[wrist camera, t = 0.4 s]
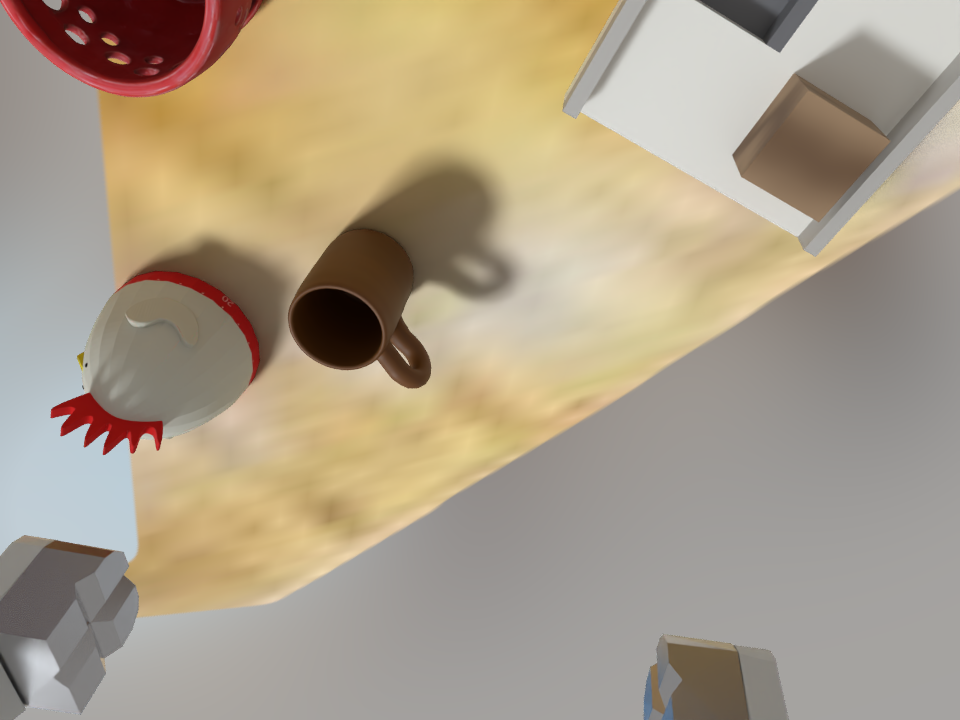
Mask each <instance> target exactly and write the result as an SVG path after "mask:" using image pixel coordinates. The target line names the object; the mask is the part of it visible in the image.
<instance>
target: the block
mask: <svg viewBox="0 0 960 720" xmlns="http://www.w3.org/2000/svg"><path fill="white" fill-rule="evenodd" d="M890 142H891V141H890V140H889V139H888V138H887V137H886V136H885V135H884V134H883V133H882V131H881V130H880V129H879V128H878V127H877V126H876V125H875V124H874V123H873V122H872V121H871V120H869V119H868V118H866V117H864V116H863V115H861V114H860V113H858V112H856V111H855V110H853V109H852V108H850V107H848V106H847V105H845V104H843V103H842V102H840V101H839V100H837V99H835V98H834V97H832V96H831V95H829V94H827V93H826V92H824V91H822V90H821V89H819V88H818V87H816V86H814V85H813V84H811V83H810V82H808V81H806V80H805V79H803V78H802V77H800V76H798V75H797V74H795V73H794V74H793V75H792V76H791V78H790V79H789V80H788V82H787V83H786V84H785V85H784V87H783V88H782V89H781V91H780V92H779V93H778V95H777V96H776V97H775V99H774V100H773V101H772V103H771V104H770V105H769V107H768V108H767V109H766V111H765V112H764V113H763V115H762V116H761V117H760V119H759V120H758V121H757V123H756V124H755V125H754V127H753V128H752V129H751V130H750V132H749V133H748V134H747V136H746V137H745V138H744V140H743V141H742V142H741V144H740V145H739V146H738V148H737V149H736V150H735V152H734V153H733V154H732V156H733V159H734V161H735V163H736V166H737V168H738V171H739V173H740V176H741V177H742V178H744V179H746V180H747V181H749V182H751V183H752V184H754V185H756V186H757V187H759V188H761V189H763V190H764V191H766V192H768V193H769V194H771V195H773V196H775V197H776V198H778V199H780V200H781V201H783V202H785V203H787V204H788V205H790V206H792V207H793V208H795V209H797V210H799V211H800V212H802V213H804V214H805V215H807V216H809V217H811V218H812V219H814V220H816V221H817V222H820V221H821V219H822V218H823V217H824V216H825V215H826V214H827V213H828V212H829V210H830V209H831V208H832V207H833V206H834V205H835V204H836V203H837V201H838V200H839V199H840V198H841V197H842V196H843V195H844V193H845V192H846V191H847V190H848V189H849V188H850V187H851V186H852V184H853V183H854V182H855V181H856V180H857V179H858V178H859V177H860V175H861V174H862V173H863V172H864V171H865V170H866V169H867V168H868V166H869V165H870V164H871V163H872V162H873V161H874V160H875V159H876V157H877V156H878V155H879V154H880V153H881V152H882V151H883V150H884V148H885V147H886V146H887V145H888V144H889V143H890Z"/></svg>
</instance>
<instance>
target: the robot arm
mask: <svg viewBox="0 0 960 720" xmlns="http://www.w3.org/2000/svg"><path fill="white" fill-rule="evenodd" d="M128 567H129V565H128V562H127V560H126V557H125V555H124V552H120V551H115V550H109V549H103V548H97V547H91V546H86V545H80V544H73V543H68V542H61V541H58V540H52V539H46V538H39V537H32V536H26V535H24V536H22V537H21V538H19V539H17V540H16V541H14V542H12V543H11V544H10V545H9V547H8V548H7V549H6V550H5V551H4V552H3V553H2V555H1V556H0V720H14V719H15V718H16V717H17V716H18V715H20V714H21V713H23V712H24V711H25V707H32V708H39V709H46V710H53V711H60V712H67V713H74V714H80V715H81V713H82V712H83V710H84V708H85V707H86V705H87V703H88V702H89V700H90V699H91V697H92V695H93V694H94V692H95V690H96V689H97V687H98V686H99V684H100V682H101V681H102V679H103V677H104V676H105V674H106V669H105V660H104V658H105V657H107V656H109V655H110V654H112V653H113V652H115V651H116V650H118V649H119V648H121V647H122V646H123V644H124V643H125V641H126V639H127V638H128V636H129V634H130V632H131V631H132V628H133V625H134V622H135V619H136V616H137V613H138V602H139V596H138V592H137V589H136V586H135V585H134V584H133V583H132V582H131V581H130V580H129V579H128V578H126V577H125V576H124V573H125V572H126V570H127V569H128ZM656 651H657V663H656V664H655V665H653V666H651V667H650V670H649V674H648V677H647V681H646V688H645V695H644V720H789V719H788V714H787V709H786V705H785V700H784V695H783V691H782V686H781V682H780V677H779V673H778V668H777V663H776V659H775V657H774V656H773V654H772V653H771V651H769V650H765V649H758V648H751V647H742V646H735V645H732V644H731V643H723V642H717V641H709V640H702V639H694V638H687V637H680V636H673V635H666V634H663V635H662V636H661V637H660V639H659V642H658V646H657V649H656ZM24 706H25V707H24Z"/></svg>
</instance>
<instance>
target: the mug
mask: <svg viewBox="0 0 960 720" xmlns="http://www.w3.org/2000/svg"><path fill="white" fill-rule="evenodd" d="M412 286H413V267H412V264H411V261H410V259H409V257H408V255H407V253H406V252H405V251H404V249H403V248H402V247H401V246H400V245H399V244H398V243H397V242H396V241H395V240H393V239H392V238H390V237H389V236H387V235H385V234H383V233H380V232H377V231H373V230H367V229H357V230H352V231H348V232H346V233H344V234H342V235H340V236H339V237H337V238H336V239H335V240H334V241H332V243H331V244H330V245H329V246H328V247H327V249H326V250H325V251H324V253H323V254H322V256H321V257H320V259H319V260H318V261H317V263H316V264H315V265H314V267H313V268H312V270H311V271H310V273H309V274H308V275H307V277H306V278H305V280H304V281H303V283H302V284H301V286H300V288H299V289H298V291H297V293H296V295H295V297H294V299H293V301H292V303H291V305H290V308H289V313H288V322H289V328H290V332H291V334H292V337H293V338H294V340H295V342H296V343H297V345H298V346H299V347H300V349H301V350H302V351H303V352H304V353H305V354H306V355H308V356H309V357H310V358H312V359H313V360H315V361H316V362H318V363H320V364H322V365H324V366H327V367H330V368H334V369H340V370H354V369H359V368H362V367H365V366H367V365H369V364H371V363H373V362H374V361H376V360H378V361H379V363H380V364H381V365H382V367H383V368H384V369H385V370H386V372H387V373H388V374H389V376H390V377H391V378H392V379H393V380H394V381H396V382H397V383H399V384H400V385H402V386H404V387H406V388H419V387H421V386H423V385H425V384H426V383H427V381H428V380H429V378H430V374H431V362H430V359H429V356H428V354H427V352H426V350H425V348H424V347H423V345H422V344H421V342H420V341H419V340H418V339H417V338H416V337H415V336H414V335H413V334H412V333H411V332H410V331H409V329H408V327H407V326H406V324H405V322H404V321H403V319H402V316H401V314H402V312H403V310H404V307H405V304H406V302H407V300H408V298H409V295H410V293H411V290H412ZM392 344H393V345H394V346H395V347H396V348H397V349H398V350H399V351H400V352H402V353H403V354H404V356H405V357H406V358H407V360H408V362H409V364H410V366H409V365H408V364H407V363H406V362H405V360H404V359H403V358H402V357H401V355H400V354H399V353H398V351H397V350H396V349H395V347H394V346H393V345H392Z"/></svg>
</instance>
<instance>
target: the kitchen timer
mask: <svg viewBox="0 0 960 720" xmlns="http://www.w3.org/2000/svg"><path fill="white" fill-rule="evenodd" d="M77 359H78V362H79V364H80V367H81V369H82V381H83V389H84V391H85V394H84V395H81V396H79V397H76V398H74V399H71V400H68V401H66V402H63V403H61V404H59V405H57V406H55V407H54V408H52V409H51V418H55V417H59V416H63V415H70V416H69V417H68V419H67V420H66V421H65V422H64V423H63V425H62V427H61V435H60V436H64V435H66V434H68V433H70V432H71V431H73V430H75V429H77V428H78V427H80V426H82V425H84V424H88V423H89V424H91V425H90V427H89V429H88V431H87V434H86V436H85V441H84V447H86V446H88V445H89V444H90V443H92V442H93V441H94V440H95V439H96V438H97V437H99V436H100V435H101V434H103V433H104V432H106V431H109V434H108V436H107V439H106V441H105V444H104V449H103V455H105V454H107V453H108V452H109V451H111V450H112V449H113V448H114V447H115V446H116V445H117V444H118V443H119V442H121V441H122V440H123V439H124V438H128V439H129V442H130V452H131V453H134V452H135V451H136V448H137V445H138V442H139V440H140V439H147V440H154V439H155V444H156V449H157V451H158V450H159V449H160V445H161V441H162V438H165V439H171V438H173V437H174V436H178V435H181V434H184V433H187V432H189V431H191V430H193V429H195V428H197V427H199V426H201V425H203V424H205V423H206V422H208V421H210V420H211V419H213V418H214V417H216V416H217V415H219V414H221V413H222V412H223V411H225V410H226V409H228V408H229V407H230V406H231V405H232V404H233V403H235V401H236V400H237V399H238V398H239V397H240V396H241V394H242V393H243V392H244V391H245V390H246V388H247V387H248V386H249V384H250V383H251V381H252V380H253V378H254V377H255V374H256V371H257V368H258V365H259V362H260V358H259V343H258V341H257V338H256V335H255V333H254V330H253V328H252V325H251V324H250V322H249V321H248V319H247V318H246V317H245V315H244V314H243V312H242V311H241V310H240V308H239V307H238V306H237V305H236V304H235V303H234V302H232V301H231V300H230V299H229V298H228V297H227V296H226V295H225V294H223V293H222V292H221V291H220V290H218V289H216V288H214V287H213V286H211V285H209V284H207V283H206V282H204V281H202V280H200V279H198V278H194V277H191V276H188V275H184V274H181V273H178V272H163V271H154V272H150V273H146V274H142V275H138V276H136V277H134V278H133V279H131V280H130V281H128V282H127V283H126V284H124V285H123V286H122V287H121V288H119V289H118V290H117V291H116V292H115V293H114V294H113V295H112V296H111V297H110V299H109V300H108V301H107V303H106V305H105V306H104V308H103V310H102V311H101V313H100V314H99V316H98V318H97V320H96V322H95V324H94V326H93V328H92V331H91V333H90V336H89V338H88V342H87V344H86V347H85V351H84V352H83V353H81V354H79V355H78V356H77Z"/></svg>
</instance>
